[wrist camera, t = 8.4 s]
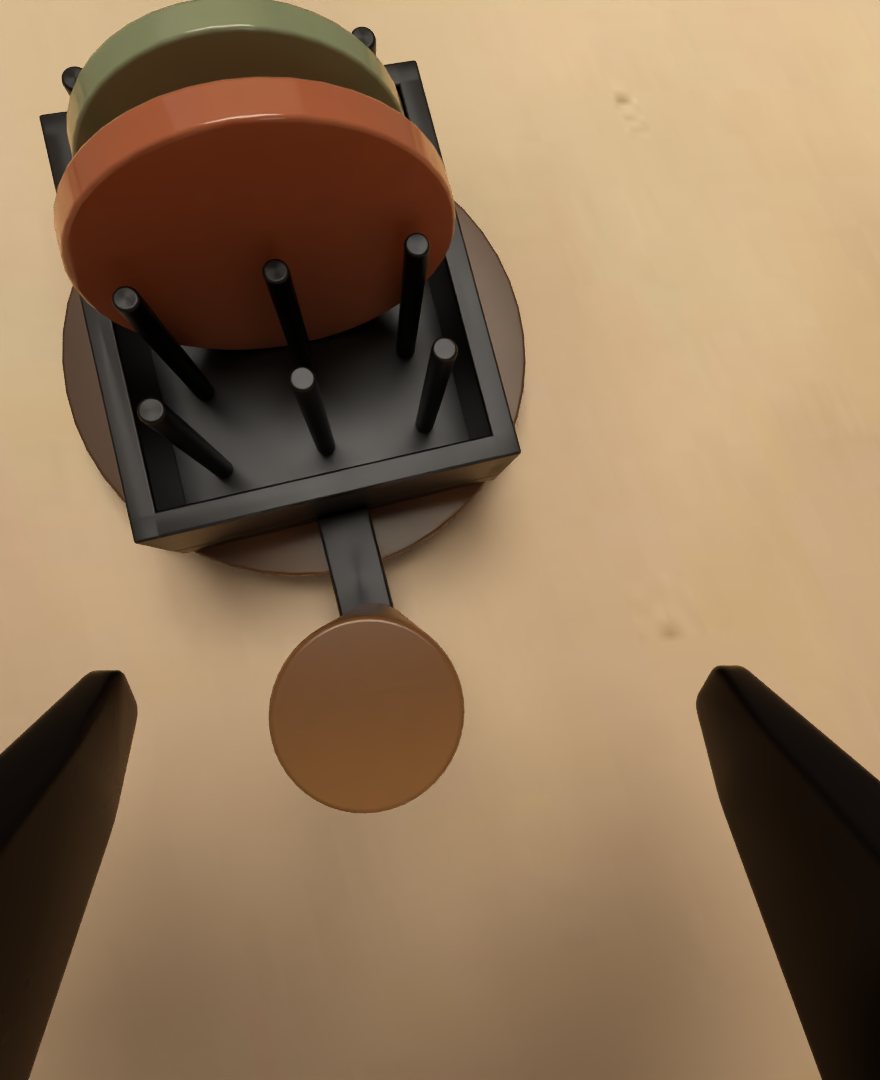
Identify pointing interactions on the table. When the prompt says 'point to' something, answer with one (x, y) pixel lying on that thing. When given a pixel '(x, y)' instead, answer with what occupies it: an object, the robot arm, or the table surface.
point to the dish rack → (284, 340)
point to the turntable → (302, 544)
